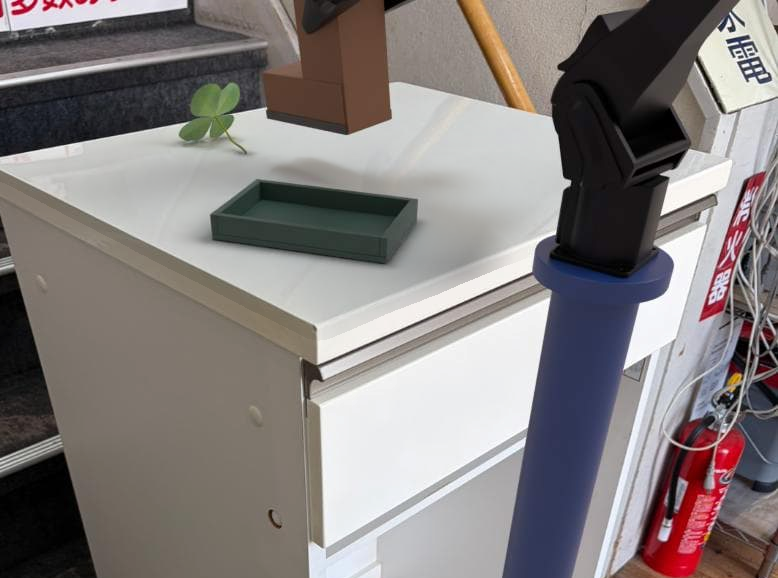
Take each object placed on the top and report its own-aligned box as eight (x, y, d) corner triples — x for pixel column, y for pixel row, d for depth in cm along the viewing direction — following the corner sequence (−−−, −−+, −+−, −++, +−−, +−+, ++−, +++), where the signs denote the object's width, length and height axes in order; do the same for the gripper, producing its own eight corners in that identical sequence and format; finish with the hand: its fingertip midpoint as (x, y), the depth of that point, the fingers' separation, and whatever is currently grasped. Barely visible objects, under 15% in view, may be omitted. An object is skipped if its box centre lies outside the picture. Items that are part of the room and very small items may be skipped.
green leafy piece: (228, 196, 90) (194, 151, 91) (284, 146, 89) (249, 100, 89) (200, 169, 83) (163, 120, 84) (260, 113, 82) (222, 64, 82)
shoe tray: (416, 222, 72) (418, 198, 70) (386, 264, 64) (387, 238, 63) (258, 202, 75) (256, 178, 73) (212, 239, 67) (209, 214, 66)
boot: (393, 118, 76) (381, -70, 67) (346, 135, 73) (328, -60, 64) (312, 103, 82) (291, -70, 73) (266, 118, 80) (239, -61, 70)
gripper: (462, -233, 64) (357, -65, 76) (281, -255, 53) (194, -55, 66) (533, -99, 65) (418, 45, 77) (369, -94, 54) (267, 72, 67)
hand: (330, 25), depth 72 cm, fingers closed on boot, 5 cm apart
